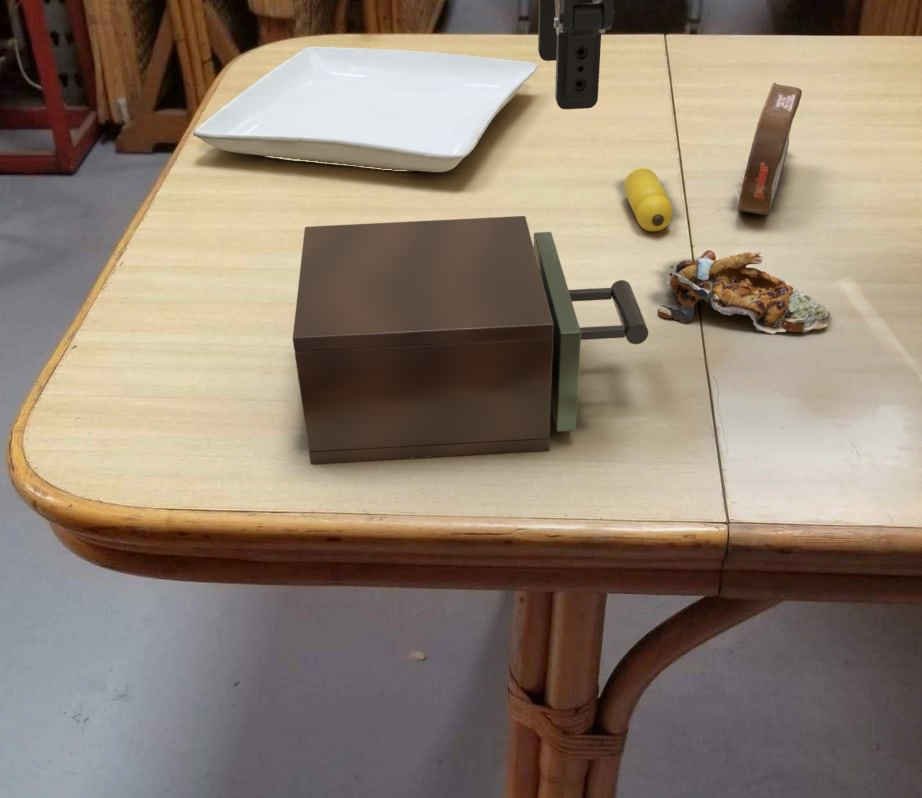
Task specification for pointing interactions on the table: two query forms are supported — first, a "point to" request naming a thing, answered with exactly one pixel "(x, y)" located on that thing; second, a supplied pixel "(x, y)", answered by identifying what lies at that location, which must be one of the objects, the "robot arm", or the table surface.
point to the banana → (648, 199)
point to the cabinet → (422, 340)
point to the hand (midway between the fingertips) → (565, 81)
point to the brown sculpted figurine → (743, 294)
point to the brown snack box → (769, 150)
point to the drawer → (569, 331)
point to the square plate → (369, 108)
